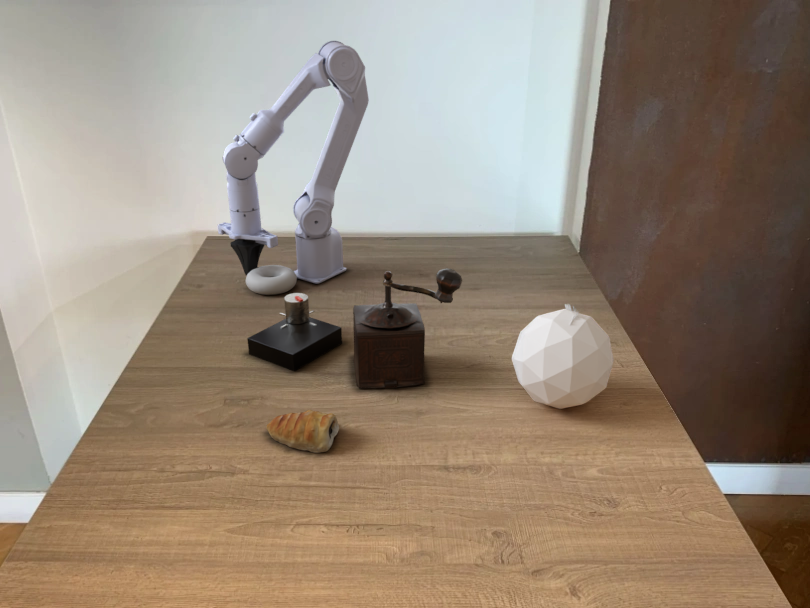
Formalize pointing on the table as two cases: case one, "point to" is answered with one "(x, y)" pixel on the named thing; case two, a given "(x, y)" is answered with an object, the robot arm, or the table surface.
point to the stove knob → (296, 308)
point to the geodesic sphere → (563, 358)
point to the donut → (271, 279)
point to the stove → (294, 342)
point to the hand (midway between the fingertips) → (251, 274)
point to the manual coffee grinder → (395, 335)
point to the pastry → (305, 430)
